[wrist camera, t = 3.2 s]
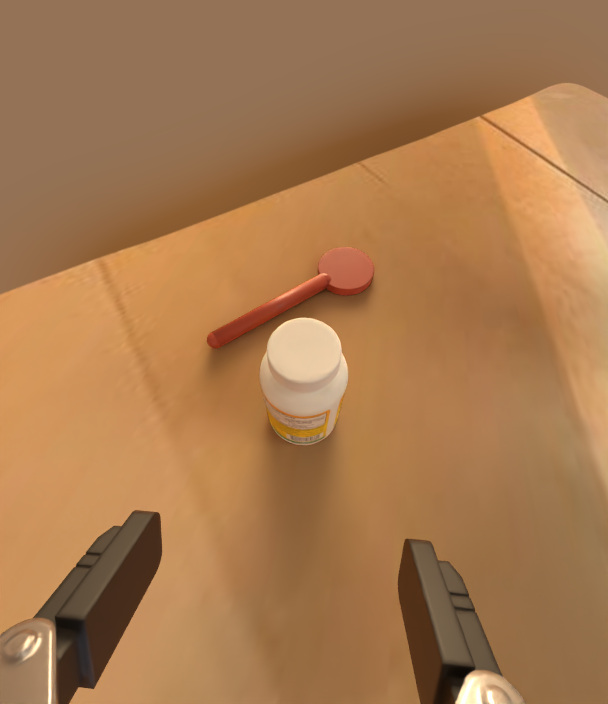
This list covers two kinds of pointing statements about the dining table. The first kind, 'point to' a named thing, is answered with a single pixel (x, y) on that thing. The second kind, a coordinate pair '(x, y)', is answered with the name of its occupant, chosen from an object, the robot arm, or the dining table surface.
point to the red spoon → (305, 291)
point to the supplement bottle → (303, 380)
